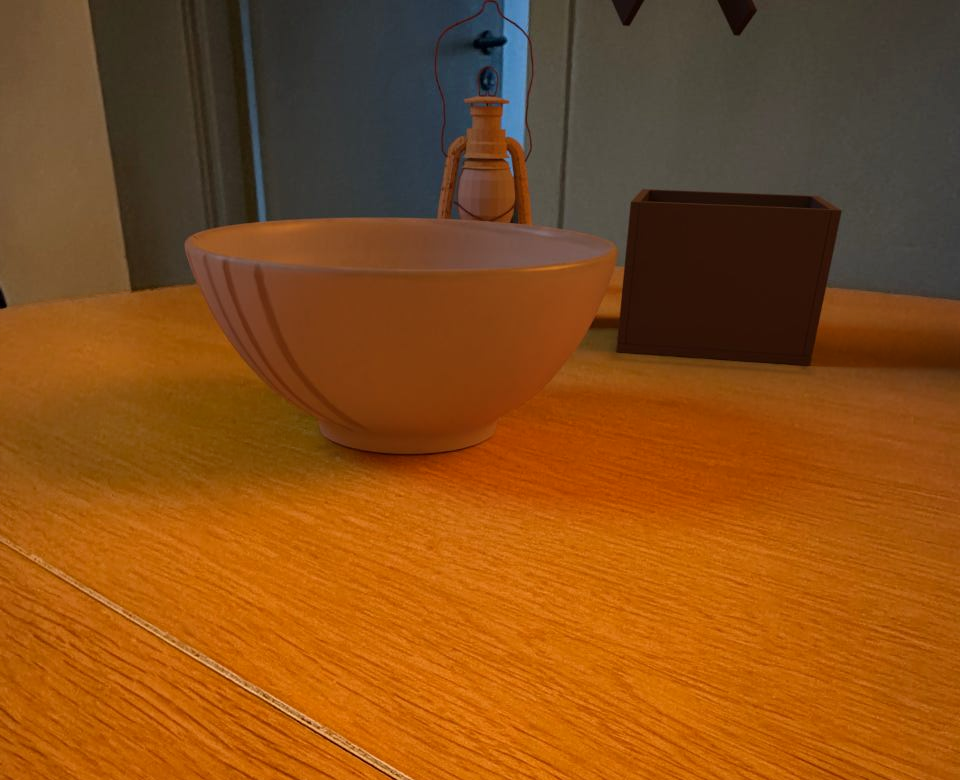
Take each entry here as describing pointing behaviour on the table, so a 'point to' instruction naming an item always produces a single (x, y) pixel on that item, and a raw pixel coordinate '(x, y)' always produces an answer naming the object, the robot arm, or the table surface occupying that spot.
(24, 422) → the table surface
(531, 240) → the decorative bowl
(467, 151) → the lantern
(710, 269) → the waste bin
